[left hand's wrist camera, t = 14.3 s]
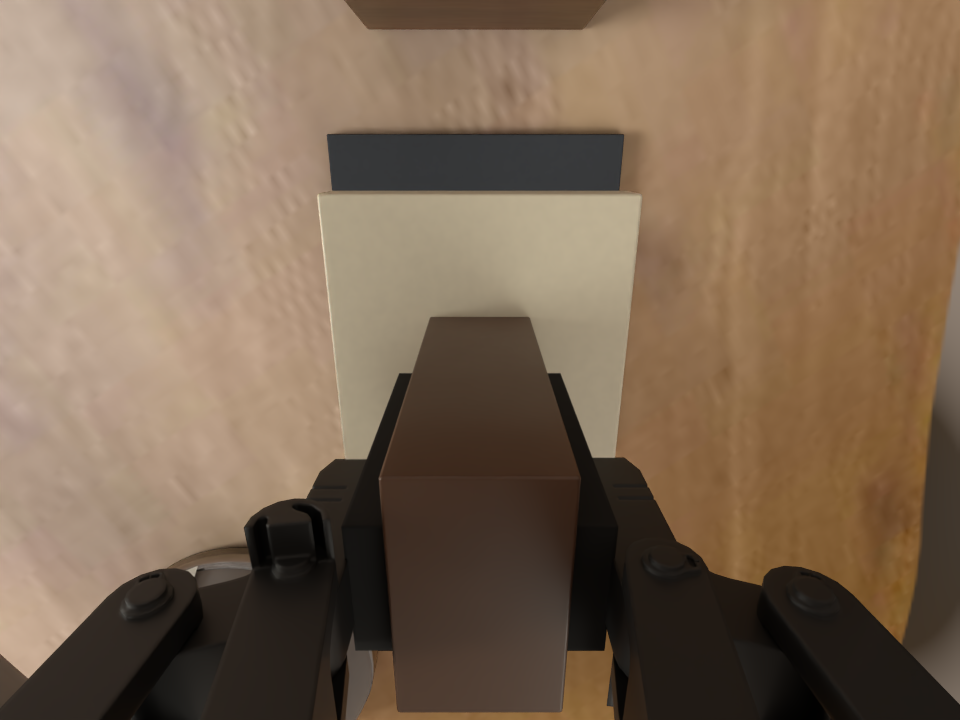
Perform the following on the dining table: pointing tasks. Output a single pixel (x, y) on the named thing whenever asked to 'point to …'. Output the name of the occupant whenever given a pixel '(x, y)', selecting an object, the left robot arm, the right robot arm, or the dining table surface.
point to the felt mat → (475, 162)
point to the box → (475, 14)
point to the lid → (479, 416)
